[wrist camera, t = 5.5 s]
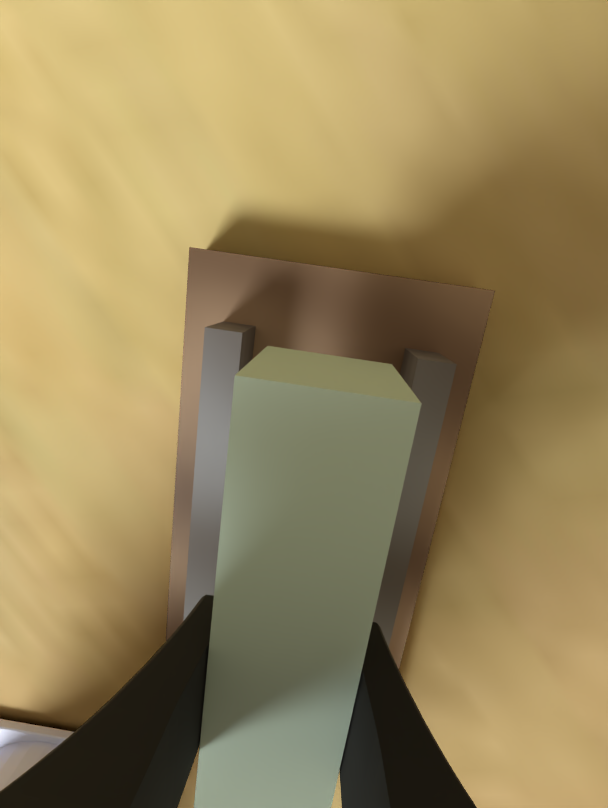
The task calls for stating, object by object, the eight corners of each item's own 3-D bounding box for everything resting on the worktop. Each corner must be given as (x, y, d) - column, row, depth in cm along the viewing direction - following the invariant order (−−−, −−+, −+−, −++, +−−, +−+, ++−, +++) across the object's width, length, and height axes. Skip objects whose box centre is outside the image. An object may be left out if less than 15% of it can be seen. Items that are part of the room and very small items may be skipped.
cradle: (375, 710, 19) (385, 804, 15) (174, 676, 19) (140, 761, 15) (477, 290, 14) (525, 291, 10) (204, 251, 14) (163, 239, 11)
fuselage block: (309, 780, 14) (301, 938, 11) (219, 764, 14) (183, 916, 11) (392, 363, 10) (421, 404, 7) (267, 345, 10) (234, 375, 7)
